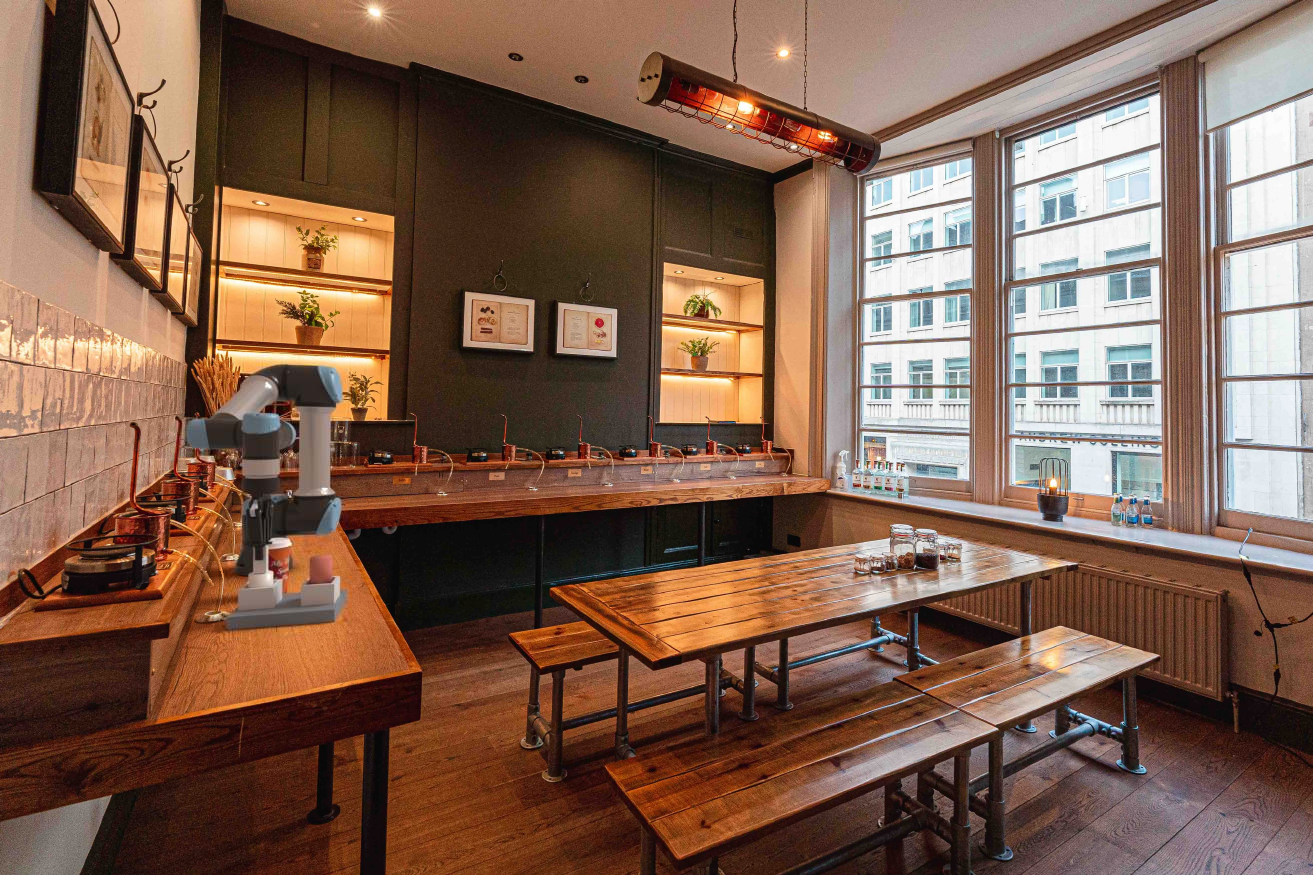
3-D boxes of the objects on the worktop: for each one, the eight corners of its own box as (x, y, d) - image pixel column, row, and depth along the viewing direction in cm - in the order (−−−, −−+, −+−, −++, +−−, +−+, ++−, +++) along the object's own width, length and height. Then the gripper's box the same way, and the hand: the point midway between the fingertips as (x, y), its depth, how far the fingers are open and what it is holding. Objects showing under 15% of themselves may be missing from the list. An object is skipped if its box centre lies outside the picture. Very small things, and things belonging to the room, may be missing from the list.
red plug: (312, 582, 146) (312, 555, 146) (334, 581, 148) (334, 554, 148) (307, 588, 142) (307, 560, 141) (330, 586, 143) (330, 559, 143)
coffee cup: (278, 599, 153) (278, 544, 152) (248, 598, 153) (248, 543, 152) (298, 590, 161) (298, 537, 161) (269, 589, 161) (270, 536, 161)
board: (250, 607, 147) (250, 576, 147) (346, 600, 154) (347, 571, 154) (226, 629, 132) (226, 595, 131) (334, 621, 139) (334, 588, 139)
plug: (252, 598, 142) (252, 571, 142) (275, 597, 144) (275, 569, 144) (245, 605, 137) (245, 576, 137) (269, 603, 139) (269, 575, 139)
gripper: (252, 473, 144) (252, 566, 145) (232, 479, 132) (232, 580, 133) (286, 473, 147) (286, 564, 148) (270, 479, 134) (270, 578, 135)
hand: (260, 572), depth 140 cm, fingers closed
